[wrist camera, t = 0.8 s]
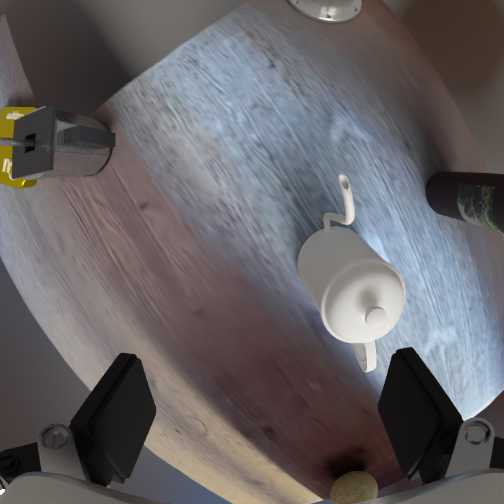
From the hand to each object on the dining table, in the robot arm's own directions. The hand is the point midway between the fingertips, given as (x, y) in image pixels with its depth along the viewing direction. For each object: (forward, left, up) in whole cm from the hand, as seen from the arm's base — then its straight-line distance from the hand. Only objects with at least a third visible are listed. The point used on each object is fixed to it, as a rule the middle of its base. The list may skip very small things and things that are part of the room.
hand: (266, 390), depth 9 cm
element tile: (-18, -47, -33) cm, 60 cm away
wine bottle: (-7, +29, -33) cm, 44 cm away
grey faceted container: (-14, -27, -32) cm, 44 cm away
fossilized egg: (+66, +25, -33) cm, 78 cm away
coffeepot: (+4, +10, -33) cm, 34 cm away
